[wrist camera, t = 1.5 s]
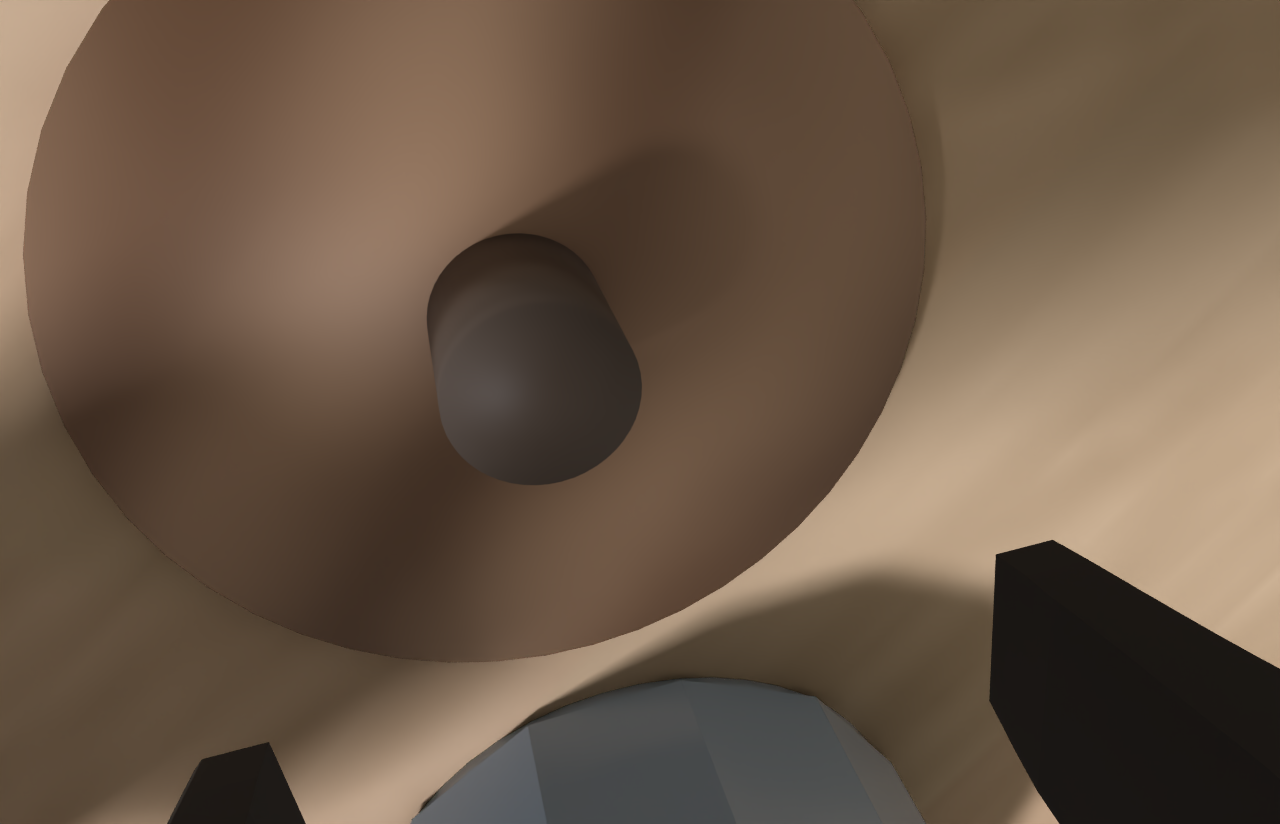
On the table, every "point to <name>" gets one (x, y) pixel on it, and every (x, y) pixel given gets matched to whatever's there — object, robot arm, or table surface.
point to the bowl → (680, 763)
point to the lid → (473, 299)
